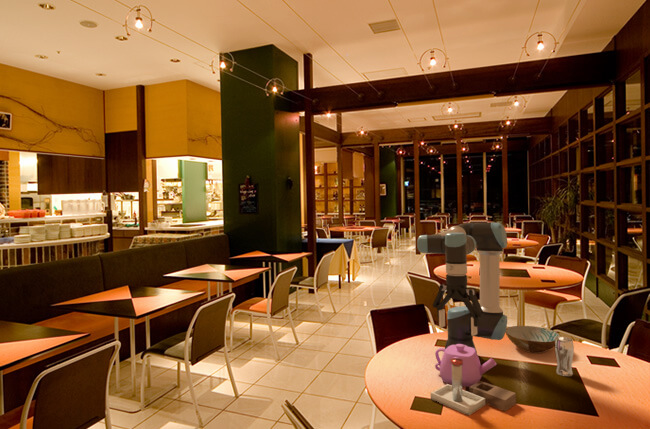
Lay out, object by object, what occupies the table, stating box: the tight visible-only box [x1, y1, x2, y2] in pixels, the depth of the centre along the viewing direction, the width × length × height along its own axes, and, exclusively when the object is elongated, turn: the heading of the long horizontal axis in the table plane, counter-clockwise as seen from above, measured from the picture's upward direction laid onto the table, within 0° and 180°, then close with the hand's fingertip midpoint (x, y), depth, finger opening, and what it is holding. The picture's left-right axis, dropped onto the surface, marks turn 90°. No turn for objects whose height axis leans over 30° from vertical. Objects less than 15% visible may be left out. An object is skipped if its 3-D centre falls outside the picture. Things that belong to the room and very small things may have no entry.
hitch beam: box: [468, 380, 517, 412], centre depth 150 cm, size 14×8×4 cm, turn 39°
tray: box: [430, 383, 486, 416], centre depth 150 cm, size 16×11×2 cm
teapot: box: [434, 344, 497, 388], centre depth 170 cm, size 19×21×14 cm
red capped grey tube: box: [450, 358, 463, 402], centre depth 150 cm, size 4×4×15 cm
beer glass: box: [554, 335, 575, 377], centre depth 171 cm, size 7×7×15 cm
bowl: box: [505, 325, 562, 354], centre depth 201 cm, size 25×25×8 cm
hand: (457, 330), depth 150 cm, fingers open, 13 cm apart
